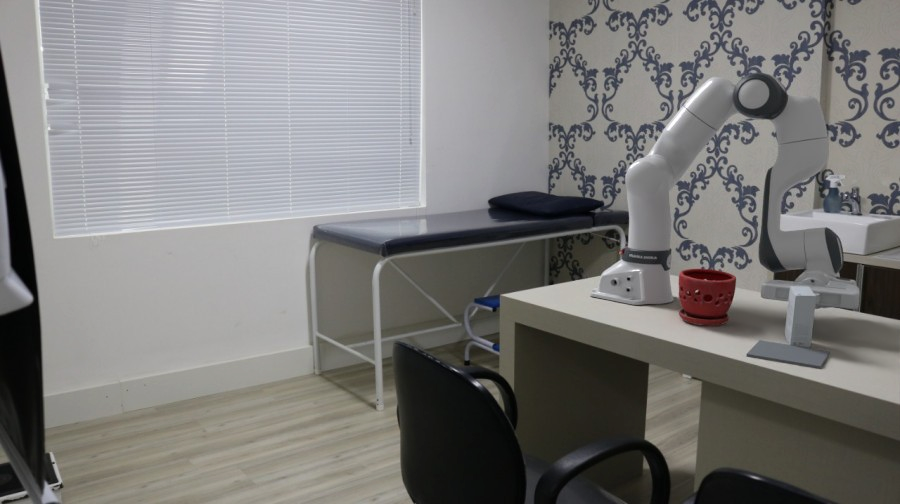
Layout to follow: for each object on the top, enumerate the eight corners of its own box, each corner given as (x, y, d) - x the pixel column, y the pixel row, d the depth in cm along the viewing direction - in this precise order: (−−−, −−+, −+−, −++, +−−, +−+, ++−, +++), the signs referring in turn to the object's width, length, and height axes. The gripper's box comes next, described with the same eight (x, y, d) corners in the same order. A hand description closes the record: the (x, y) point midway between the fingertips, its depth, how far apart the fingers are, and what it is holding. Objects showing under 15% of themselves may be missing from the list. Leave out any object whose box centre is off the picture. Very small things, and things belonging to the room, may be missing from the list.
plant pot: (669, 323, 179) (671, 274, 177) (686, 312, 190) (688, 266, 188) (724, 332, 172) (728, 281, 170) (739, 319, 183) (742, 272, 180)
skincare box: (811, 348, 160) (817, 296, 156) (789, 347, 160) (795, 295, 157) (804, 336, 165) (810, 286, 161) (783, 335, 166) (789, 285, 162)
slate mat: (746, 356, 154) (746, 353, 154) (759, 342, 164) (759, 340, 164) (820, 368, 146) (820, 366, 146) (829, 353, 156) (829, 351, 156)
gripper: (767, 271, 180) (755, 281, 168) (863, 281, 168) (857, 292, 157) (765, 296, 181) (753, 308, 169) (861, 308, 169) (854, 321, 158)
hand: (804, 300), depth 163 cm, fingers closed
